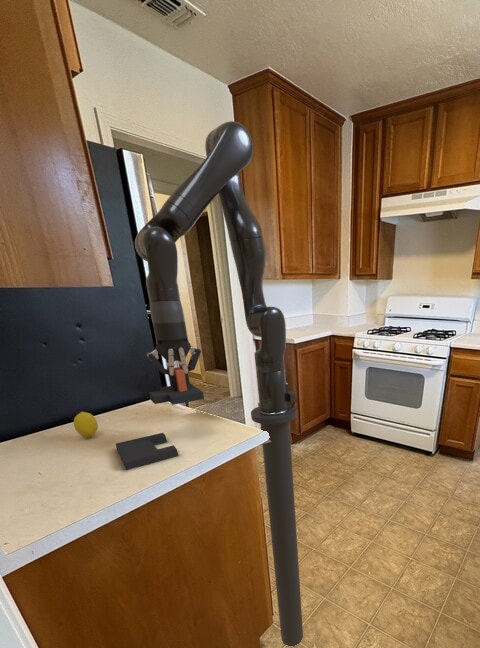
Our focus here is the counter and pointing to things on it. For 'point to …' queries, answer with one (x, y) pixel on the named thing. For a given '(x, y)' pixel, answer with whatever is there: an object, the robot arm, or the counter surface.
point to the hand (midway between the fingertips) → (180, 387)
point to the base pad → (144, 451)
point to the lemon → (85, 424)
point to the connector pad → (177, 391)
